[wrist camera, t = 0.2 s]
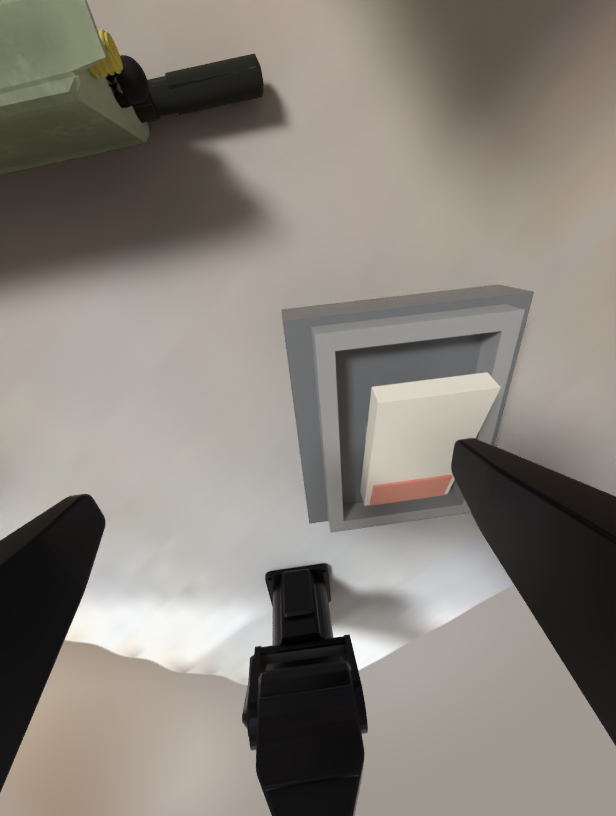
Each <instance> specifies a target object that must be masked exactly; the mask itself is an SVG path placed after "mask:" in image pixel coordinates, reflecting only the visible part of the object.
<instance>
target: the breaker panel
mask: <svg viewBox="0 0 616 816" xmlns="http://www.w3.org/2000/svg"><path fill="white" fill-rule="evenodd" d="M533 294H534V292H532V291H527V290H522V289H517V288H513V287H508V286H503V285H493V286H484V287H476V288H467V289H458V290H449V291H441V292H432V293H423V294H415V295H406V296H397V297H388V298H380V299H371V300H362V301H353V302H345V303H336V304H327V305H319V306H310V307H301V308H292V309H284V310H282V317H283V326H284V333H285V341H286V349H287V356H288V364H289V372H290V379H291V387H292V394H293V402H294V410H295V417H296V425H297V432H298V440H299V448H300V455H301V463H302V471H303V478H304V486H305V493H306V501H307V509H308V516H309V523H316V522H323V521H329V526H330V531H331V532H337V531H344V530H351V529H358V528H365V527H372V526H379V525H386V524H393V523H400V522H407V521H414V520H421V519H428V518H435V517H441V516H448V515H455V514H462V513H469V512H471V511H470V509H469V507H468V505H467V503H466V501H465V499H464V497H463V495H462V493H461V491H460V489H459V487H458V485H457V483H456V481H455V480H454V482H453V484H452V486H451V488H450V490H449V492H448V494H445V495H442V496H435V497H428V498H421V499H414V500H407V501H400V502H393V503H386V504H379V505H372V506H371V505H367V506H364V503H363V499H362V495H361V492H360V489H361V479H362V470H363V461H364V452H365V443H366V434H367V424H368V415H369V406H370V397H371V388H372V387H374V386H382V385H390V384H398V383H406V382H414V381H422V380H430V379H438V378H446V377H454V376H462V375H470V374H478V373H486V372H488V373H489V374H490V376H491V377H492V378H493V379H494V380H495V381H496V382H497V384H498V385H499V386H500V387H501V388H500V390H499V392H498V394H497V396H496V398H495V400H494V402H493V404H492V406H491V408H490V410H489V412H488V414H487V416H486V418H485V420H484V422H483V424H482V426H481V428H480V430H479V432H478V434H477V436H476V438H475V439H478V440H480V441H483V442H485V443H487V444H490V445H492V446H494V443H495V440H496V436H497V432H498V428H499V424H500V420H501V416H502V413H503V409H504V405H505V401H506V397H507V393H508V390H509V386H510V382H511V378H512V374H513V370H514V367H515V363H516V359H517V355H518V351H519V347H520V343H521V340H522V336H523V332H524V328H525V324H526V320H527V317H528V313H529V309H530V305H531V301H532V297H533Z"/></svg>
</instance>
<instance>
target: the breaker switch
mask: <svg viewBox="0 0 616 816" xmlns="http://www.w3.org/2000/svg"><path fill="white" fill-rule="evenodd" d="M500 388H501V387H500V386H499V385H498V384H497V382H496V381H495V380H494V379H493V378H492V377H491V376H490V374H489V373H488V372H486V373H478V374H470V375H462V376H454V377H446V378H438V379H430V380H422V381H414V382H406V383H398V384H390V385H382V386H374V387H372V388H371V397H370V406H369V415H368V424H367V434H366V443H365V452H364V461H363V470H362V479H361V489H360V492H361V495H362V499H363V503H364V506H367V505H371V506H372V505H379V504H386V503H393V502H400V501H407V500H414V499H421V498H428V497H435V496H442V495H445V494H448V492H449V490H450V488H451V486H452V484H453V482H454V480H455V479H454V477H453V474H452V471H451V462H452V456H453V450H454V444H455V442H456V441H457V440H460V439H467V438H476V436H477V434H478V432H479V430H480V428H481V426H482V424H483V422H484V420H485V418H486V416H487V414H488V412H489V410H490V408H491V406H492V404H493V402H494V400H495V398H496V396H497V394H498V392H499V390H500Z"/></svg>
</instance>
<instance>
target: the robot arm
mask: <svg viewBox="0 0 616 816" xmlns="http://www.w3.org/2000/svg"><path fill="white" fill-rule="evenodd" d="M451 471H452V474H453V477H454V479H455V481H456V483H457V485H458V487H459V489H460V491H461V493H462V495H463V497H464V499H465V501H466V503H467V505H468V507H469V509H470V511H471V513H472V515H473V517H474V519H475V521H476V523H477V525H478V527H479V529H480V530H481V532H482V534H483V535H484V537H485V539H486V540H487V542H488V544H489V545H490V547H491V548H492V550H493V552H494V553H495V555H496V556H497V558H498V559H499V561H500V563H501V564H502V566H503V567H504V569H505V571H506V572H507V574H508V575H509V577H510V579H511V580H512V582H513V583H514V585H515V586H516V588H517V590H518V591H519V593H520V594H521V596H522V597H523V599H524V601H525V602H526V604H527V606H528V607H529V609H530V610H531V612H532V614H533V615H534V616H535V618H536V620H537V621H538V623H539V625H540V626H541V628H542V629H543V631H544V633H545V634H546V636H547V637H548V639H549V640H550V642H551V644H552V645H553V647H554V648H555V650H556V652H557V653H558V655H559V656H560V658H561V660H562V661H563V663H564V664H565V666H566V667H567V669H568V671H569V672H570V674H571V675H572V677H573V679H574V680H575V682H576V683H577V685H578V687H579V688H580V690H581V691H582V693H583V695H584V696H585V698H586V699H587V701H588V703H589V704H590V706H591V707H592V709H593V710H594V712H595V713H596V715H597V717H598V718H599V720H600V721H601V723H602V725H603V726H604V728H605V730H606V731H607V732H608V734H609V736H610V737H611V739H612V741H613V742H614V744H615V745H616V497H615V496H613V495H611V494H608V493H606V492H603V491H601V490H599V489H596V488H594V487H591V486H589V485H586V484H584V483H582V482H579V481H577V480H574V479H572V478H570V477H567V476H565V475H562V474H560V473H557V472H555V471H553V470H550V469H548V468H545V467H543V466H541V465H538V464H536V463H533V462H531V461H528V460H526V459H524V458H521V457H519V456H516V455H514V454H512V453H509V452H507V451H504V450H502V449H500V448H497V447H495V446H492V445H490V444H487V443H485V442H483V441H480V440H478V439H475V438H467V439H460V440H457V441H456V442H455V444H454V450H453V456H452V462H451ZM104 529H105V517H104V515H103V514H102V512H101V510H100V509H99V507H98V505H97V504H96V502H95V501H94V499H93V498H92V496H90V495H89V494H80V495H73V496H69V497H67V498H65V499H64V500H62V501H61V502H59V503H57V504H56V505H54V506H53V507H51V508H50V509H48V510H47V511H45V512H44V513H42V514H40V515H39V516H37V517H36V518H34V519H33V520H31V521H30V522H28V523H27V524H25V525H24V526H22V527H20V528H19V529H17V530H16V531H14V532H13V533H11V534H10V535H8V536H7V537H5V538H4V539H2V540H0V792H1V790H2V787H3V785H4V783H5V780H6V778H7V775H8V773H9V771H10V768H11V766H12V763H13V761H14V759H15V756H16V754H17V752H18V749H19V746H20V744H21V742H22V740H23V737H24V735H25V733H26V730H27V728H28V725H29V723H30V721H31V718H32V716H33V713H34V711H35V708H36V706H37V704H38V702H39V699H40V697H41V694H42V692H43V689H44V687H45V685H46V683H47V680H48V678H49V675H50V673H51V671H52V668H53V666H54V664H55V661H56V659H57V656H58V654H59V652H60V649H61V647H62V644H63V642H64V640H65V637H66V635H67V633H68V630H69V628H70V625H71V623H72V621H73V618H74V616H75V613H76V611H77V609H78V606H79V604H80V602H81V599H82V596H83V594H84V591H85V588H86V585H87V583H88V580H89V576H90V573H91V570H92V567H93V564H94V561H95V557H96V554H97V551H98V548H99V545H100V541H101V538H102V535H103V532H104ZM265 581H266V584H267V588H268V591H269V595H270V599H271V602H272V606H273V646H267V647H261V646H258V647H255V653H254V655H253V656H252V657H250V668H249V681H248V687H247V693H246V698H245V703H244V708H243V714H242V722H243V723H244V725H245V726H246V727H247V729H248V736H249V741H250V748H251V750H256V772H257V776H258V779H259V782H260V784H261V787H262V790H263V792H264V795H265V798H266V801H267V803H268V806H269V809H270V812H271V814H272V816H354V815H355V810H356V805H357V800H358V795H359V789H360V784H361V779H362V771H363V763H364V747H363V740H362V734H364V733H367V730H368V727H367V716H366V709H365V701H364V696H363V690H362V685H361V681H360V677H359V672H358V668H357V664H356V660H355V656H354V651H353V647H352V643H351V639H350V635H344V637H336V638H333V632H332V625H331V618H330V611H329V604H328V602H330V601H331V596H330V586H329V575H328V567H327V565H325V564H321V565H315V566H308V567H301V568H294V569H288V570H281V571H274V572H268V573H266V575H265Z"/></svg>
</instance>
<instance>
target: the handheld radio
mask: <svg viewBox="0 0 616 816" xmlns="http://www.w3.org/2000/svg"><path fill="white" fill-rule="evenodd" d="M165 75H166V76H163V77H159V78H154V79H150V80H147V78H146V75H145V73H144V71H143V70H142V68H141V67H140V65H139V64H138V63H137V62H136V61H135V60H134V59H133V58H131V57H129V56H126V55H122V56H120V55H119V52H118V50H117V47H116V45H115V43H114V41H113V39H112V37H111V36H110V34H109V33H108V32H105V31H104V30H103V29H102V30H99V33H98V30H97V27H96V25H95V22H94V19H93V16H92V14H91V11H90V8H89V6H88V3H87V1H86V0H0V175H1V174H5V173H10V172H14V171H19V170H24V169H28V168H33V167H38V166H42V165H47V164H52V163H56V162H61V161H65V160H70V159H75V158H79V157H84V156H89V155H93V154H98V153H102V152H107V151H112V150H116V149H121V148H125V147H130V146H135V145H139V144H142V143H145V142H146V141H147V140H148V138H149V135H150V132H149V127H148V123H147V122H149V121H154V120H158V119H160V116H165V115H170V114H174V113H178V114H179V115H181V114H185V113H190V112H195V111H199V110H204V109H208V108H213V107H218V106H222V105H227V104H232V103H236V102H241V101H246V100H250V99H255V98H260V97H262V96H263V77H262V72H261V67H260V64H259V62H258V60H257V58H256V56H255V54H250V55H246V56H241V57H237V58H232V59H228V60H223V61H218V62H214V63H209V64H205V65H200V66H196V67H191V68H186V69H182V70H177V71H173V72H168V73H165Z"/></svg>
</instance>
